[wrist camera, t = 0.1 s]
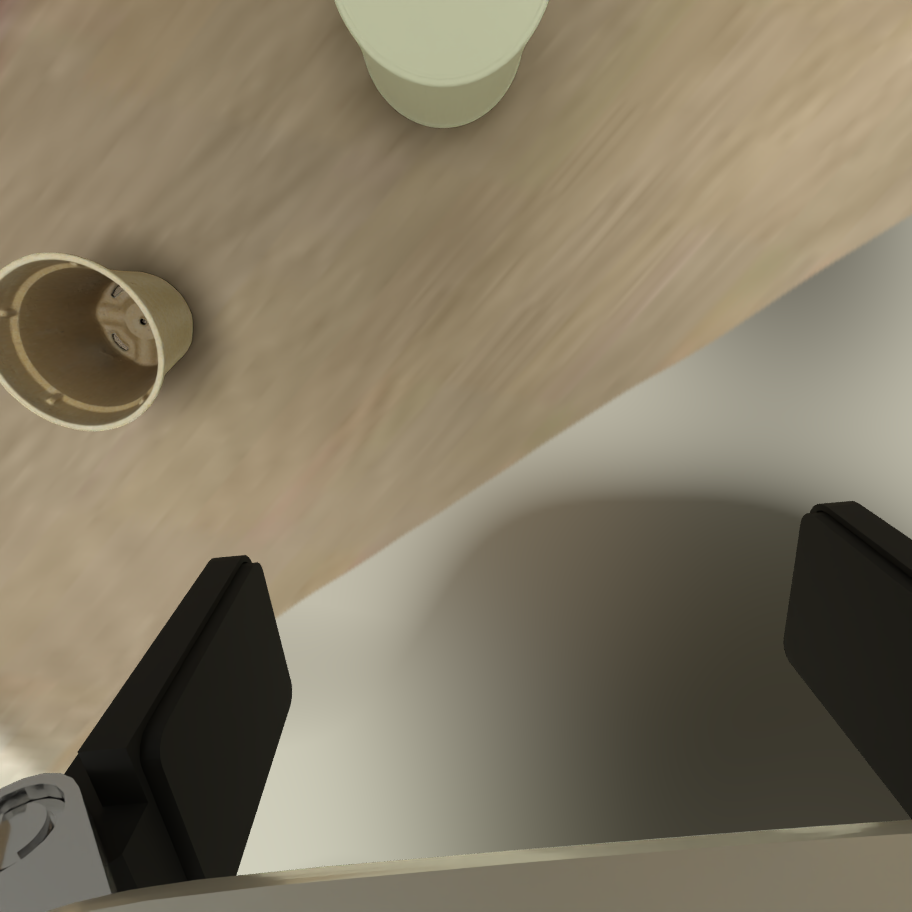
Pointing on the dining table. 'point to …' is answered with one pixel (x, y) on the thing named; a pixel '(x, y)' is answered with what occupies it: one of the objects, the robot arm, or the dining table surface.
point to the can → (442, 52)
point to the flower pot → (87, 339)
